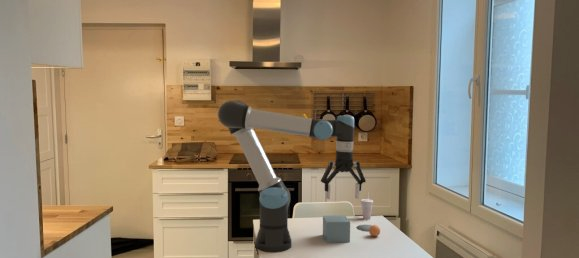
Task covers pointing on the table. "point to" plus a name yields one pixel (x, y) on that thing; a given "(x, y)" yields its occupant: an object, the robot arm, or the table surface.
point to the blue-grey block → (336, 228)
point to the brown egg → (374, 230)
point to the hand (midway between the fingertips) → (342, 198)
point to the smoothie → (367, 207)
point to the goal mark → (364, 227)
